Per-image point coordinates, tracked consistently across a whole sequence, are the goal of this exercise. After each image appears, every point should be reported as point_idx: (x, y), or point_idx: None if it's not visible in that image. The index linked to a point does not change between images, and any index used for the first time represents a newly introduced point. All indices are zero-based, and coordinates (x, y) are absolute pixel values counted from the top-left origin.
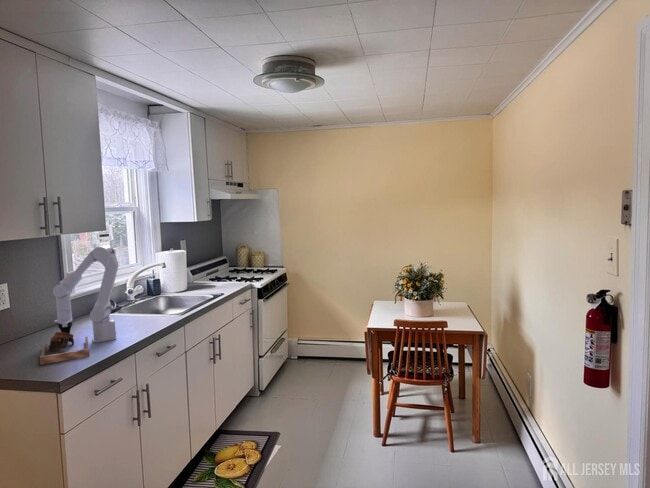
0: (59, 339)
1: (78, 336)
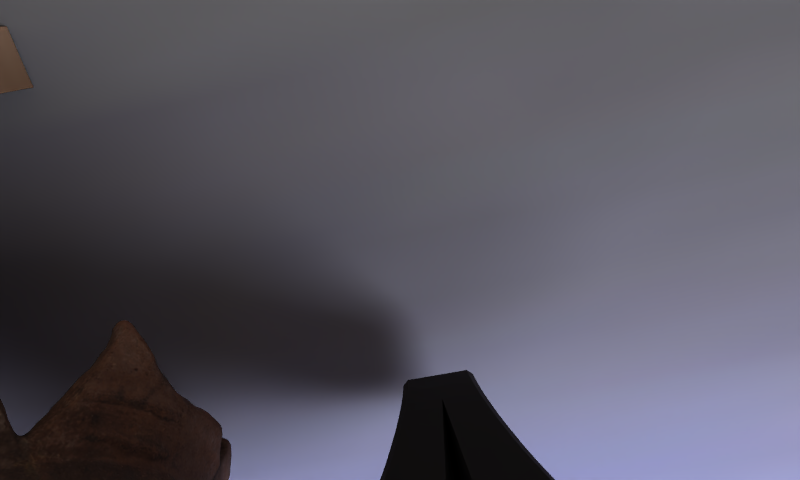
0: (158, 397)
1: (702, 471)
